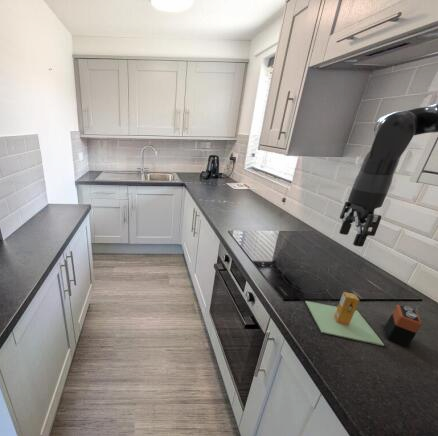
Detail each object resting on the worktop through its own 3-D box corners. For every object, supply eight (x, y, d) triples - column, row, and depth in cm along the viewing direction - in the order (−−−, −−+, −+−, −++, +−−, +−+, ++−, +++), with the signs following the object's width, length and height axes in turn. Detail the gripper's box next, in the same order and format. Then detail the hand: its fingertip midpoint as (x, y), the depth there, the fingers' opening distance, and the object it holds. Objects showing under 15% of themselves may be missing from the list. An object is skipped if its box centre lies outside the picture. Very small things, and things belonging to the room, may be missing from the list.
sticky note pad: (356, 311, 79) (357, 310, 79) (383, 346, 67) (384, 344, 67) (305, 301, 83) (305, 300, 83) (321, 332, 71) (321, 331, 70)
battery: (387, 339, 69) (402, 313, 65) (384, 325, 74) (398, 301, 70) (407, 347, 67) (424, 321, 63) (403, 333, 71) (418, 308, 68)
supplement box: (345, 318, 76) (356, 294, 72) (348, 326, 73) (360, 301, 69) (333, 315, 77) (343, 290, 73) (335, 322, 74) (347, 297, 70)
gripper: (404, 196, 58) (378, 252, 64) (370, 184, 71) (352, 232, 77) (368, 193, 60) (347, 248, 66) (342, 182, 73) (326, 229, 79)
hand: (350, 239), depth 71 cm, fingers open, 8 cm apart
